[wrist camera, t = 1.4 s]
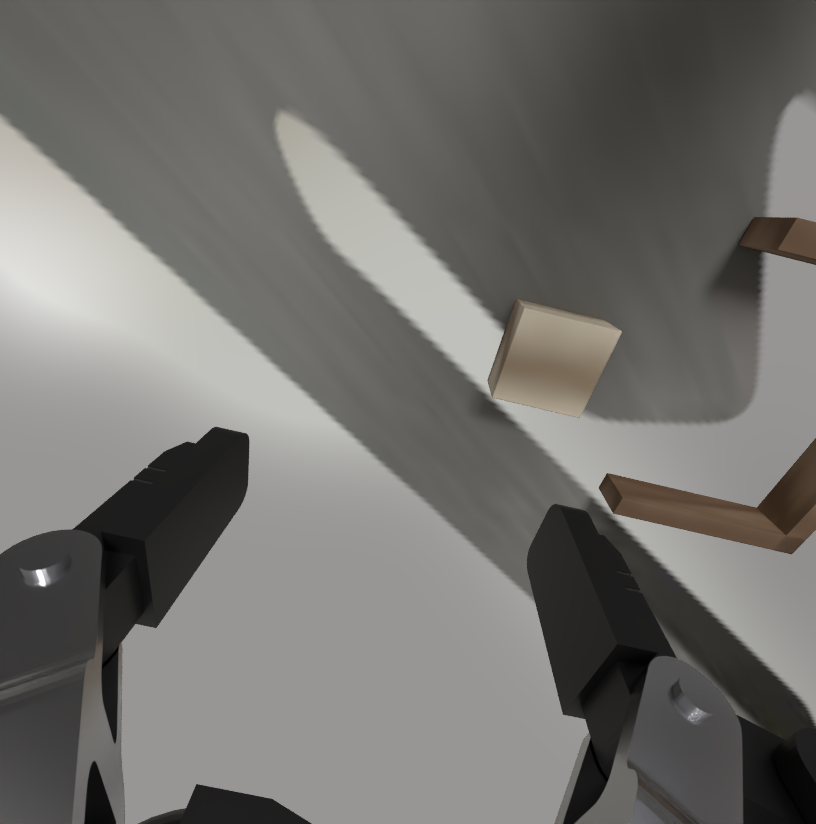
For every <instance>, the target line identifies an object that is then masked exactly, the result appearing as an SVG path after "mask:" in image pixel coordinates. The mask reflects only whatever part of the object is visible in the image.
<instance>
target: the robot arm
mask: <svg viewBox="0 0 816 824" xmlns="http://www.w3.org/2000/svg"><path fill="white" fill-rule="evenodd" d="M248 465H249V437H248V435H247V434H246V433H242V432H237V431H232V430H228V429H223V428H219V427H214V428H212V429H211V430H210V431H209V432H208V433H207V434H205V435H204V436H203V437H202V438H201V439H200V440H199V441H198V442H197V443H196V444H195V443H190V442H185V443H183V444H181V445H179V446H176V447H174V448H172V449H169V450H167V451H165V452H163V453H162V454H161V455H160V456H159V457H158V458H156V459H155V460H154V461H153V462H152V463H150V464H149V465H148V468H147V469H146V468H145V469H143V470H142V471H141V472H140V473H139V474H138V475H136V476H135V477H134V480H133V481H129V482H128V483H127V484H126V485H125V486H123V487H122V488H121V489H120V490H119V491H118V492H116V493H115V494H114V495H113V496H112V497H110V498H109V499H108V500H107V501H106V502H105V503H103V504H102V505H101V506H100V507H99V508H97V509H96V510H95V511H94V512H93V513H92V514H90V515H89V516H88V517H87V518H86V519H84V520H83V521H82V522H81V523H80V524H79V525H77V526H76V527H75V528H74V529H72V530H58V531H51V532H47V533H43V534H40V535H36V536H33V537H31V538H29V539H26V540H23V541H21V542H19V543H18V544H16V545H14V546H12V547H11V548H9V549H8V550H6V551H4V552H3V553H2V554H0V824H125V800H124V783H123V773H122V759H121V716H122V715H121V713H122V712H121V711H122V641H123V639H124V638H125V637H126V635H127V634H128V633H129V631H130V630H131V629H132V627H133V626H134V625H135V624H140V625H144V626H149V627H154V628H157V626H158V625H159V623H160V622H161V620H162V619H163V618H164V616H165V615H166V613H167V612H168V610H169V609H170V607H171V606H172V605H173V603H174V602H175V600H176V599H177V597H178V596H179V594H180V593H181V592H182V590H183V588H184V587H185V586H186V584H187V583H188V581H189V580H190V579H191V577H192V576H193V574H194V572H195V571H196V570H197V568H198V567H199V566H200V564H201V563H202V561H203V560H204V558H205V557H206V555H207V554H208V552H209V551H210V550H211V548H212V547H213V545H214V544H215V542H216V541H217V539H218V538H219V537H220V535H221V534H222V532H223V531H224V529H225V528H226V527H227V525H228V524H229V522H230V521H231V519H232V518H233V516H234V515H235V514H236V512H237V511H238V509H239V508H240V506H241V504H242V502H243V500H244V497H245V494H246V491H247V486H248ZM527 570H528V575H529V579H530V583H531V587H532V591H533V595H534V599H535V603H536V607H537V611H538V615H539V619H540V623H541V627H542V631H543V635H544V640H545V643H546V648H547V652H548V656H549V660H550V664H551V667H552V672H553V676H554V680H555V683H556V688H557V692H558V696H559V700H560V704H561V708H562V712H563V715H568V716H574V717H578V718H583V719H586V723H587V726H588V730H589V734H588V735H587V736H586V737H585V738H584V740H583V742H582V745H581V748H580V750H579V753H578V757H577V759H576V762H575V765H574V768H573V771H572V774H571V777H570V780H569V783H568V786H567V789H566V792H565V795H564V797H563V800H562V804H561V806H560V809H559V812H558V815H557V818H556V821H555V824H816V729H815V728H809V727H808V728H802V729H800V730H799V731H797V732H796V733H794V734H793V735H792V736H790V737H789V738H788V739H786V740H784V739H782V738H781V737H779V736H777V735H775V734H773V733H771V732H769V731H767V730H765V729H763V728H761V727H759V726H757V725H755V724H753V723H751V722H749V721H748V720H746V719H744V718H742V717H740V716H738V715H736V713H735V711H734V709H733V708H732V706H731V704H730V703H729V701H728V700H727V699H726V697H725V696H724V695H723V693H722V692H721V691H720V690H719V689H718V688H717V687H716V686H715V684H714V683H713V682H712V681H711V680H709V679H708V678H707V677H706V676H705V675H704V674H702V673H701V672H700V671H698V670H697V669H696V668H694V667H693V666H691V665H689V664H688V663H686V662H684V661H682V660H679V659H677V658H676V656H675V654H674V652H673V650H672V648H671V646H670V644H669V643H668V641H667V639H666V637H665V635H664V633H663V631H662V630H661V628H660V626H659V624H658V622H657V620H656V618H655V617H654V615H653V613H652V611H651V609H650V607H649V605H648V604H647V602H646V600H645V598H644V596H643V594H641V593H640V592H639V590H640V589H639V587H638V585H637V583H636V581H635V579H634V577H631V572H630V570H629V568H628V566H627V564H626V563H625V561H624V559H623V557H622V555H621V553H620V552H619V551H618V550H617V549H616V548H615V547H614V546H613V545H612V544H611V543H610V542H609V541H608V539H607V538H606V537H605V536H603V535H599V534H598V532H597V530H596V528H595V526H594V524H593V522H592V520H591V518H590V516H589V514H588V513H587V512H586V511H585V510H580V509H576V508H571V507H567V506H562V505H558V504H554V505H552V506H551V507H550V508H549V510H548V512H547V514H546V516H545V518H544V520H543V522H542V524H541V526H540V528H539V530H538V532H537V534H536V536H535V538H534V540H533V542H532V544H531V546H530V548H529V552H528V557H527ZM139 824H311V823H310V822H308V821H306V820H305V819H303V818H301V817H300V816H298V815H297V814H295V813H294V812H292V811H290V810H289V809H287V808H286V807H284V806H282V805H281V804H279V803H278V802H276V801H274V800H273V799H269V798H264V797H259V796H254V795H249V794H244V793H238V792H234V791H229V790H223V789H218V788H213V787H208V786H203V785H198V784H197V785H196V787H195V789H194V791H193V794H192V796H191V798H190V801H189V803H188V806H187V808H185V809H179V810H174V811H171V812H168V813H164V814H161V815H158V816H155V817H152V818H150V819H147V820H145V821H143V822H141V823H139Z"/></svg>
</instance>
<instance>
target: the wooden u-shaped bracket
mask: <svg viewBox="0 0 816 824" xmlns="http://www.w3.org/2000/svg"><path fill="white" fill-rule="evenodd" d="M739 245H740V246H744V247H747V248H751V249H755V250H759V251H763V252H767V253H771V254H775V255H779V256H783V257H787V258H791V259H795V260H799V261H803V262H806V263H811V264H814V265H816V223H815V222H812V221H808V220H804V219H800V218H773V217H754V219H753V221H752V222H751V224H750V226H749V228H748V229H747V231H746V233H745V235H744V236H743V238H742V240H741V241H740V243H739ZM599 489H600V491H601V493H602V495H603V496H604V498H605V500H606V502H607V503H608V505H609V507H610V509H611V510H612V512H613V513H614V514H618V515H623V516H627V517H631V518H636V519H640V520H644V521H649V522H653V523H657V524H662V525H666V526H671V527H675V528H680V529H684V530H688V531H692V532H697V533H701V534H706V535H710V536H714V537H719V538H723V539H727V540H732V541H736V542H740V543H745V544H749V545H754V546H758V547H762V548H767V549H771V550H775V551H780V552H784V553H788V554H792V553H794V551H795V550H796V549H797V548H798V547H799V546H800V545H801V544H802V543H803V542H804V541H805V540H806V539H807V538H808V537H809V536H810V535H811V534H812V533H813V532H814V531H815V530H816V439H815V440H814V441H813V442H812V443H811V444H810V446H809V447H808V448H807V449H806V451H805V452H804V453H803V454H802V455H801V456H800V457H799V459H798V460H797V461H796V462H795V463H794V464H793V466H792V467H791V468H790V469H789V470H788V472H787V473H786V474H785V475H784V476H783V477H782V479H781V480H780V481H779V482H778V483H777V485H776V486H775V487H774V488H773V489H772V490H771V492H770V493H769V494H768V495H767V496H766V498H765V499H764V500H763V501H762V502H761V503H760V505H759V506H758V507H757V508H755V507H750V506H746V505H742V504H737V503H733V502H729V501H724V500H720V499H716V498H711V497H707V496H703V495H699V494H694V493H690V492H686V491H681V490H677V489H673V488H669V487H664V486H660V485H656V484H651V483H647V482H643V481H639V480H634V479H630V478H626V477H621V476H617V475H613V474H608V473H607V474H606V476H605V478H604V480H603V481H602V483H601V485H600V486H599Z"/></svg>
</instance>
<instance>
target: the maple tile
mask: <svg viewBox="0 0 816 824" xmlns="http://www.w3.org/2000/svg"><path fill="white" fill-rule="evenodd" d="M621 333H622V331H620V330H619V329H617V328H616V327H614V326H613V325H611V324H610V323H608V322H606V321H605V320H601V319H597V318H593V317H588V316H584V315H580V314H576V313H572V312H568V311H564V310H560V309H556V308H552V307H548V306H544V305H539V304H535V303H531V302H527V301H523V300H519V299H516V302H515V305H514V308H513V311H512V314H511V316H510V319H509V322H508V325H507V328H506V331H505V332H504V334H503V337H502V339H501V342H500V345H499V348H498V351H497V354H496V357H495V360H494V363H493V366H492V368H491V372H490V374H489V377H488V384H489V388H490V391H491V395H492V398H496V399H500V400H505V401H509V402H513V403H517V404H522V405H526V406H531V407H534V408H539V409H543V410H548V411H551V412H556V413H560V414H564V415H568V416H573V417H577V418H580V416H581V414H582V412H583V410H584V408H585V406H586V404H587V402H588V400H589V398H590V396H591V394H592V392H593V390H594V388H595V386H596V384H597V382H598V380H599V378H600V376H601V374H602V372H603V370H604V368H605V366H606V363H607V361H608V359H609V357H610V355H611V353H612V351H613V349H614V347H615V345H616V343H617V341H618V339H619V337H620V335H621Z"/></svg>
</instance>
